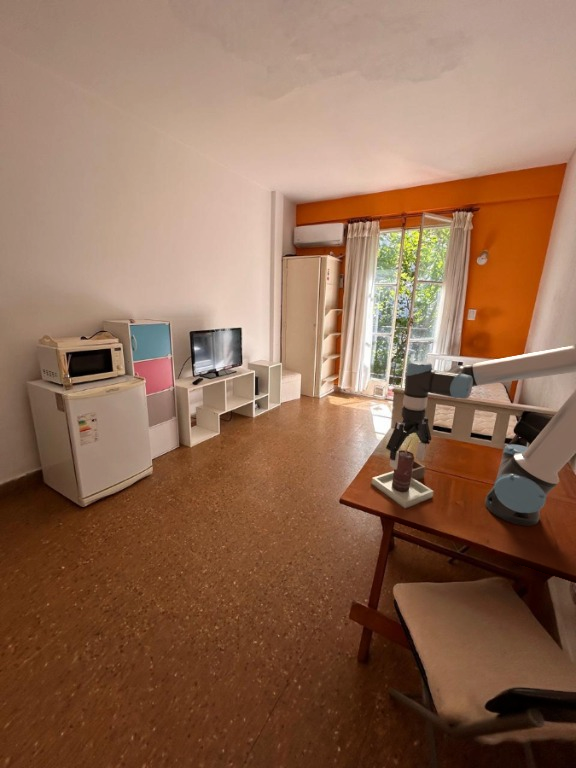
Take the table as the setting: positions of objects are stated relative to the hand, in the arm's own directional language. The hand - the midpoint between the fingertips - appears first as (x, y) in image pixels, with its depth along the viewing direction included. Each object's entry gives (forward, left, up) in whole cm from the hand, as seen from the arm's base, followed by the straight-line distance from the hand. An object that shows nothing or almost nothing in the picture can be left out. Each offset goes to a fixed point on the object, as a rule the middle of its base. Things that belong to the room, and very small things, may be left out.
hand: (406, 463), depth 113 cm
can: (+1, 0, -11) cm, 11 cm away
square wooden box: (+6, -11, -11) cm, 17 cm away
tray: (0, 0, -11) cm, 11 cm away
